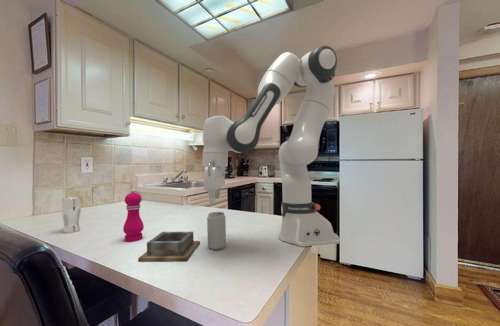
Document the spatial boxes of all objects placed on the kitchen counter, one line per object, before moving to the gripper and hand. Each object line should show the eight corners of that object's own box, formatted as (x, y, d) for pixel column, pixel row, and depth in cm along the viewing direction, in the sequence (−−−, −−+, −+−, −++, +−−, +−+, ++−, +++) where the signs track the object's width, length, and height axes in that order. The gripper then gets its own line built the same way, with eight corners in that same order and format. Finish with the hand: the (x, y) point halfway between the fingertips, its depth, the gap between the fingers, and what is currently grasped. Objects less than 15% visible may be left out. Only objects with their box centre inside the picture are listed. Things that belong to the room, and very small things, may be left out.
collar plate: (199, 243, 82) (199, 230, 82) (187, 261, 67) (186, 244, 67) (159, 243, 82) (159, 230, 82) (138, 261, 67) (138, 245, 67)
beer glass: (57, 232, 98) (57, 199, 98) (75, 228, 104) (74, 196, 105) (67, 234, 95) (67, 199, 95) (84, 229, 102) (84, 197, 102)
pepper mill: (147, 237, 90) (147, 188, 90) (131, 243, 83) (131, 190, 83) (135, 235, 93) (135, 187, 93) (119, 240, 86) (118, 189, 86)
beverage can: (222, 251, 74) (222, 215, 74) (204, 250, 75) (204, 214, 75) (228, 244, 80) (227, 211, 80) (211, 243, 82) (211, 211, 82)
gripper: (219, 161, 68) (218, 206, 67) (227, 162, 88) (227, 196, 88) (198, 160, 68) (198, 206, 68) (212, 161, 88) (211, 196, 88)
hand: (214, 200), depth 78 cm, fingers open, 8 cm apart
